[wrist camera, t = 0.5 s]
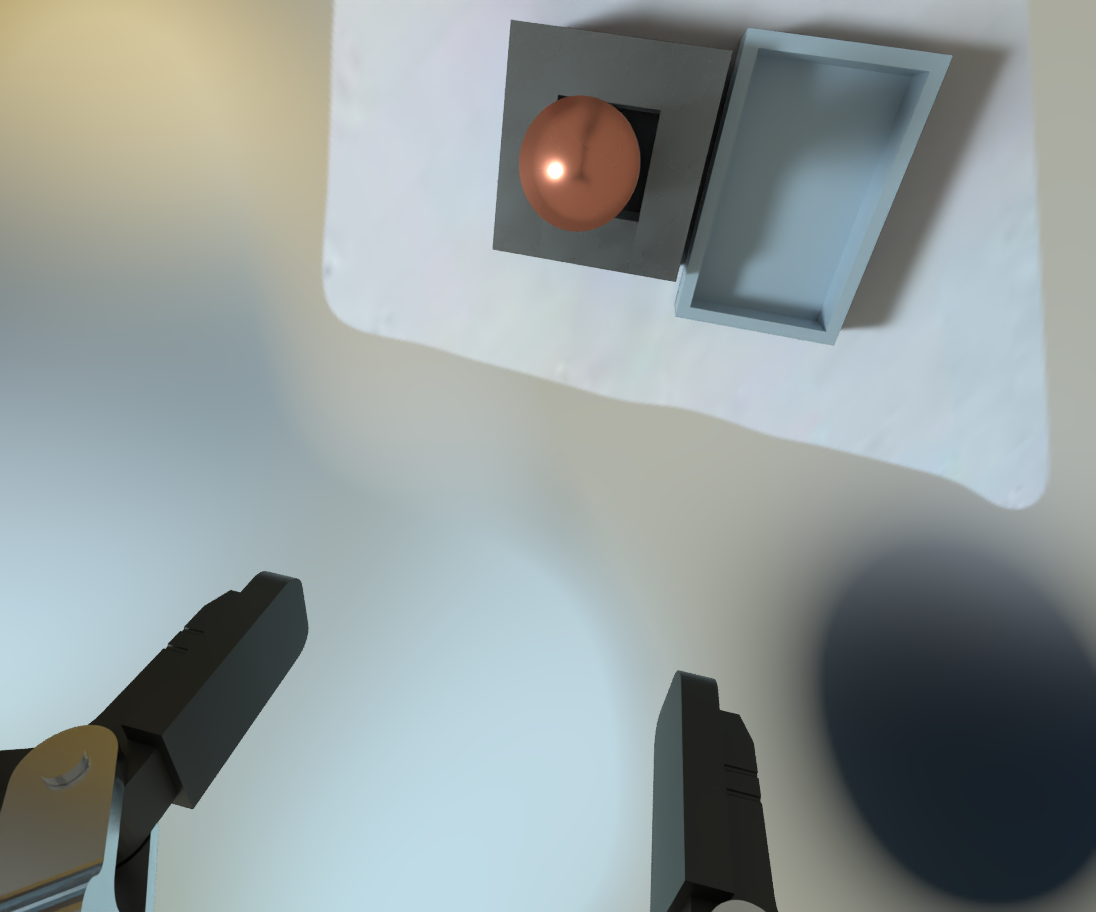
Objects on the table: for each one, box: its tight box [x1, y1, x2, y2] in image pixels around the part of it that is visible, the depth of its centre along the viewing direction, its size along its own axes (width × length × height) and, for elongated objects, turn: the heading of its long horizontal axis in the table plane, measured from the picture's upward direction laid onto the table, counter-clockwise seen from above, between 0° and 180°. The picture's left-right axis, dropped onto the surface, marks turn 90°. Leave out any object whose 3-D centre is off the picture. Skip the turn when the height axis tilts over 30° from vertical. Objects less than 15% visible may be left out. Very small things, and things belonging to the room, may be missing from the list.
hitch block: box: [493, 20, 732, 282], centre depth 26 cm, size 9×9×4 cm
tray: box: [675, 28, 953, 346], centre depth 26 cm, size 12×8×2 cm, turn 173°
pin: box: [519, 95, 641, 232], centre depth 23 cm, size 4×4×11 cm
